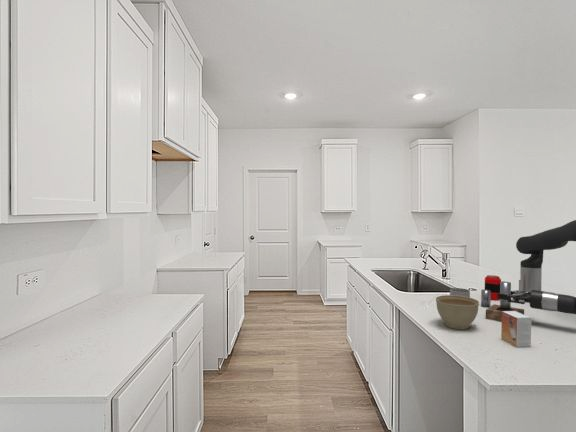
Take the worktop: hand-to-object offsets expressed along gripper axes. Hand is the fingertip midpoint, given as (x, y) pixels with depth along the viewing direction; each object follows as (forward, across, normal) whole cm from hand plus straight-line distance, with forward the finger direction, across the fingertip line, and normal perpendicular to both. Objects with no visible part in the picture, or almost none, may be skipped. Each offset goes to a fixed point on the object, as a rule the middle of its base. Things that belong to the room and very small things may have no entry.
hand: (500, 294), depth 157 cm
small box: (-12, +28, +11) cm, 33 cm away
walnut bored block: (-2, 0, +10) cm, 11 cm away
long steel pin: (-2, 0, +10) cm, 11 cm away
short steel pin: (+10, -15, +10) cm, 21 cm away
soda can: (+12, -34, +11) cm, 37 cm away
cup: (+16, +2, +11) cm, 20 cm away
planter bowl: (+10, +24, +11) cm, 28 cm away
